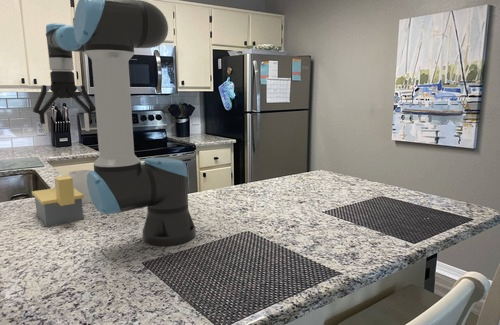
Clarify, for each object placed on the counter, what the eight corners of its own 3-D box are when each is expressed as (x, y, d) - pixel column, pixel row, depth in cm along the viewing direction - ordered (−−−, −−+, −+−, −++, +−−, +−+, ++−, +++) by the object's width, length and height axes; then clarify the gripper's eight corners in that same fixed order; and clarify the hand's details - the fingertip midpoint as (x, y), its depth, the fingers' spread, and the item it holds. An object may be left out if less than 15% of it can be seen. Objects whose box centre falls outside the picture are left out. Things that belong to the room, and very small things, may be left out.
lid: (88, 201, 120) (86, 176, 118) (45, 208, 112) (43, 182, 111) (70, 188, 136) (68, 166, 134) (32, 194, 128) (29, 171, 127)
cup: (100, 199, 150) (98, 170, 148) (89, 206, 141) (86, 175, 139) (79, 199, 151) (76, 169, 149) (66, 205, 142) (63, 174, 140)
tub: (83, 221, 125) (81, 197, 124) (46, 228, 118) (44, 204, 117) (71, 210, 136) (69, 189, 135) (37, 216, 130) (34, 194, 128)
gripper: (95, 72, 142) (99, 128, 146) (18, 70, 127) (26, 133, 131) (102, 71, 137) (106, 130, 140) (22, 69, 121) (30, 135, 125)
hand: (67, 132), depth 136 cm, fingers open, 13 cm apart
